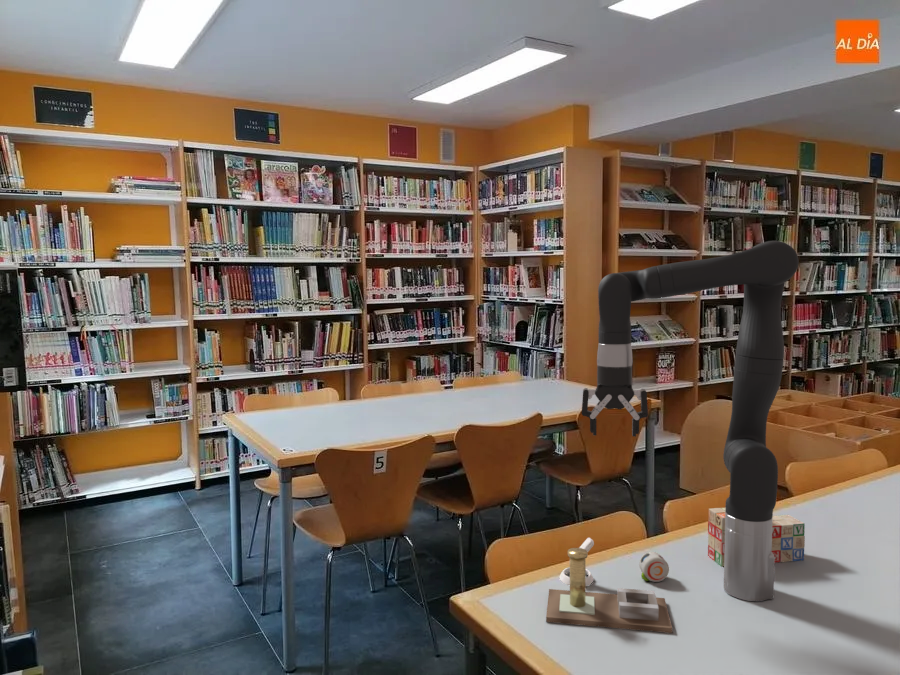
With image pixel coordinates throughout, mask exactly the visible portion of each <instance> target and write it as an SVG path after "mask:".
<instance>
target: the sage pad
mask: <svg viewBox="0 0 900 675" xmlns="http://www.w3.org/2000/svg"><path fill="white" fill-rule="evenodd" d="M559 612H567V613H578V614H590V615H595V608H594V597H591V596H586V605H585V606H583V607H574V606H572V605H571V604H570V595H566V594H560V607H559Z"/></svg>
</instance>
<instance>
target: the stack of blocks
mask: <svg viewBox="0 0 900 675" xmlns="http://www.w3.org/2000/svg"><path fill="white" fill-rule="evenodd" d="M772 518H773V519H772V553H773V554H774V557H775V560H774V564H775V563H787V562H798V561H800V560H801V561H804V560H805V544H806V543H805V542H806V541H805V540H806V538H805V528H806V527H805V526H806V525H805V523H804V522H802V521H801V520H799V519H797V518H795V517H793V516H792V515H789V514H782V515H781V514H780V515H773V517H772ZM707 534H708V537H707V538H708V539H707V543H708V545H707V557H708V556H709V557H708V558H709V559H711V560H712V561H713V560H714V561H713V562H715V563H716V564H717V563H718V564H717V565H719V566H720V567H723V566H724V553H725V507H713V508H711V507H710V508H708V521H707ZM723 568H724V567H723Z"/></svg>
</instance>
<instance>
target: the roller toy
mask: <svg viewBox="0 0 900 675" xmlns="http://www.w3.org/2000/svg"><path fill="white" fill-rule="evenodd" d="M638 565H639V569H640V571H641V578H642V580H643V581H645V582H648V581H650V582H653V583H659V582H663V581H664V580H665V579H666V578H667V577H668V575H669V572H670V566H669V563H668V562H667V561H666V560H665V559H664V557H663V556H662V555H661V554H660V553H658V552H656V551H649V552H648V551H647V552H646V553H644V554H642V556H641V557H640V559H639V564H638Z"/></svg>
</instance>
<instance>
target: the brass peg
mask: <svg viewBox="0 0 900 675" xmlns="http://www.w3.org/2000/svg"><path fill="white" fill-rule="evenodd" d="M588 553H589V551H588V552H587V551H586V550H585V549H582V548H580V547H571V548H569V549H567V557H568V558H569V567H570V573H569V577H570V586H569V591H570V604H571V605H572V606H574V607H583V606H585V605H586V592H587V591H586V589H587V588H586V587H587V586H586V577H587V575H586V569H587V568H586V563H587V562H586V559H587V558H588V557H589V556H588Z"/></svg>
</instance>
